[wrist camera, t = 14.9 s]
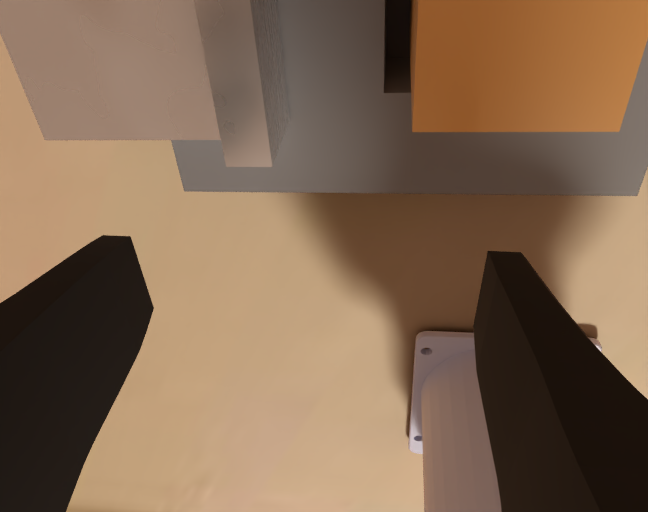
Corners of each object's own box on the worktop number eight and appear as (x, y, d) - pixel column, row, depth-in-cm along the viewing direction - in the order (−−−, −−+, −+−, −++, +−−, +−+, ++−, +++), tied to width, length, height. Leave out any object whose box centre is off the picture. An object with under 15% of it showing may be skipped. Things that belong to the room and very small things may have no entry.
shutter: (289, 120, 16) (272, 166, 14) (64, 122, 17) (16, 165, 14) (256, -193, 11) (223, -195, 9) (-47, -169, 12) (-139, -165, 10)
